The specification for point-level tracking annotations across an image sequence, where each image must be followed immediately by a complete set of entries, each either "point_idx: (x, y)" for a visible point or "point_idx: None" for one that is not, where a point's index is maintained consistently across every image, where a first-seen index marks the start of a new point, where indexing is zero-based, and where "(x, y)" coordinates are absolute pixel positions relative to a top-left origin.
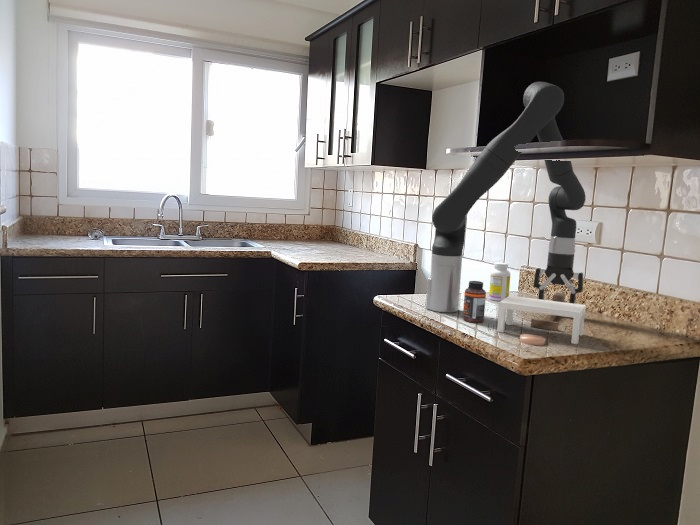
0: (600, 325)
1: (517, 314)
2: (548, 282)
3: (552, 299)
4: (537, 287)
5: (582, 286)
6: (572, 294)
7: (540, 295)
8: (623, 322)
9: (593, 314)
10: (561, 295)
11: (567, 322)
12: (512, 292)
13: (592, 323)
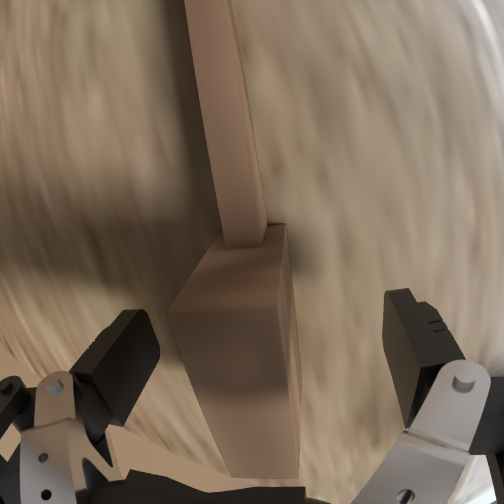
0: (2, 167)
1: (476, 64)
2: (385, 481)
3: (277, 283)
4: (501, 383)
5: (15, 452)
6: (75, 370)
7: (429, 330)
8: (3, 314)
9: None
10: (212, 402)
11: (116, 66)
12: (467, 496)
13: (29, 180)
